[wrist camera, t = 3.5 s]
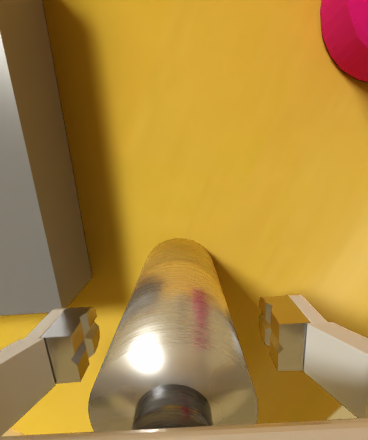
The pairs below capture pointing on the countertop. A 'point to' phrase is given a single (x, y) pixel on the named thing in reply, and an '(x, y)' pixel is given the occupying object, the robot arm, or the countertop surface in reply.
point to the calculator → (12, 433)
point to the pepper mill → (347, 34)
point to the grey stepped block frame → (35, 173)
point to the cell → (174, 351)
